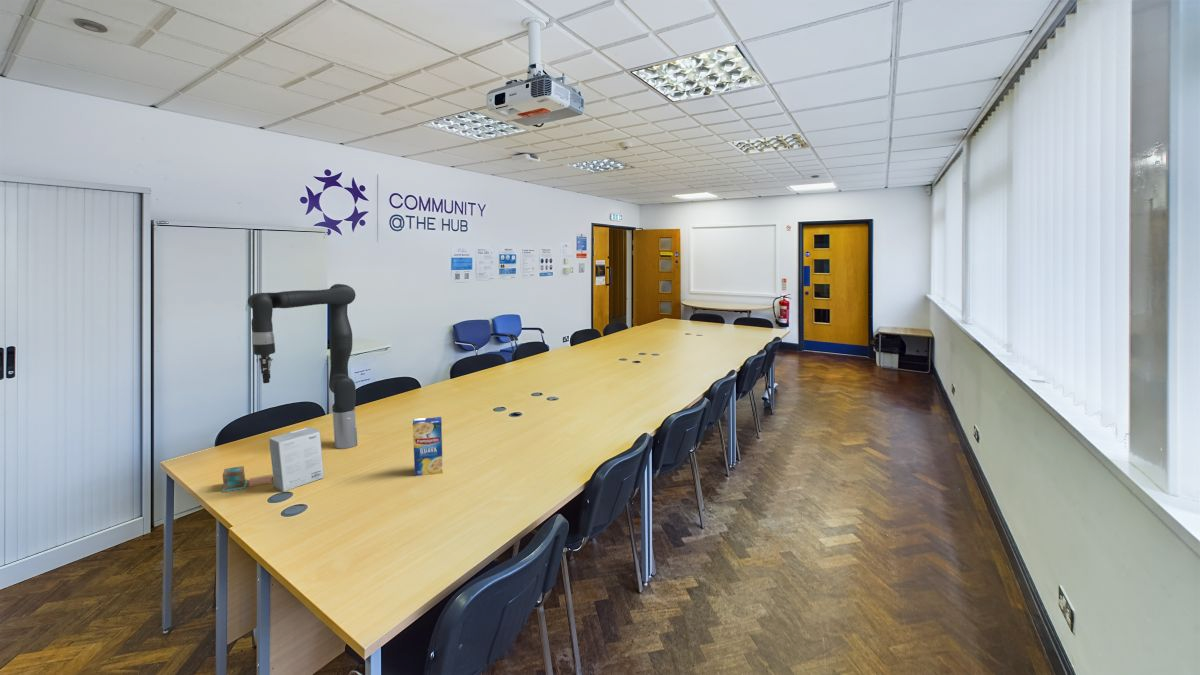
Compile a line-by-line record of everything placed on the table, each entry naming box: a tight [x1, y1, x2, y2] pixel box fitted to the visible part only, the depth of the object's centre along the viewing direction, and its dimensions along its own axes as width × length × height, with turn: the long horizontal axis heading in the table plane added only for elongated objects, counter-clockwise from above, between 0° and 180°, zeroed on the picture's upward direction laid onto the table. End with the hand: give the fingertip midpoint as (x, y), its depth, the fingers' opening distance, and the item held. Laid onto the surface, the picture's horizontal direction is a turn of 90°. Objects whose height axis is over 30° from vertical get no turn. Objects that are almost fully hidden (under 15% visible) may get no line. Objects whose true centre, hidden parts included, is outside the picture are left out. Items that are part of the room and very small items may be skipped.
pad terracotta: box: [248, 474, 272, 487], centre depth 193 cm, size 7×7×1 cm
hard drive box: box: [268, 426, 325, 492], centre depth 191 cm, size 16×8×20 cm, turn 145°
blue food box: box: [412, 416, 444, 477], centre depth 203 cm, size 7×11×22 cm, turn 107°
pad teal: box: [221, 479, 248, 493], centre depth 188 cm, size 7×7×1 cm
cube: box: [222, 465, 246, 490], centre depth 187 cm, size 6×6×6 cm
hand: (266, 380), depth 204 cm, fingers open, 8 cm apart
